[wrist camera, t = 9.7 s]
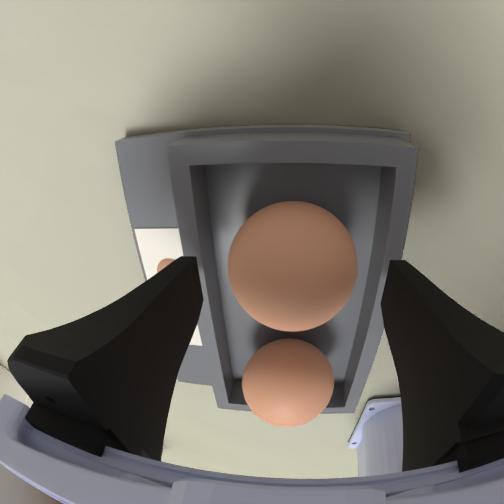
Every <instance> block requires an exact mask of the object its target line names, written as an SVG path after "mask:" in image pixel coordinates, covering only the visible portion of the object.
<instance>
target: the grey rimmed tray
mask: <svg viewBox="0 0 504 504" xmlns="http://www.w3.org/2000/svg"><path fill="white" fill-rule="evenodd" d="M410 139H411V134H409V133H407V132H405V131H401V130H391V129H381V128H369V127H355V126H336V125H300V124H278V125H242V126H223V127H209V128H197V129H186V130H176V131H167V132H159V133H151V134H144V135H137V136H130V137H125V138H122V139H120V140H117V141H115V145H116V151H117V157H118V163H119V169H120V174H121V179H122V185H123V190H124V195H125V200H126V204H127V209H128V214H129V218H130V222H131V227H132V231H133V235H134V239H135V243H136V247H137V251H138V255H139V259H140V263H141V267H142V270H143V274H144V278H145V281H147V280H148V279H150V278H151V277H152V276H154V275H155V274H156V273H158V272H159V271H160V270H162V269H163V268H165V267H166V266H167V265H169V264H170V263H171V262H173V261H174V260H176V259H177V258H179V257H180V256H196V258H197V264H198V270H199V276H200V282H201V287H202V293H203V298H204V300H203V305H202V309H201V313H200V317H199V321H198V324H197V326H196V329H195V331H194V334H193V336H192V339H191V341H190V344H189V346H188V349H187V351H186V354H185V356H184V359H183V361H182V364H181V366H180V369H179V372H178V375H177V378H178V381H179V382H186V383H194V384H202V385H211V386H212V387H213V390H214V394H215V398H216V402H217V405H218V408H222V409H232V410H243V411H252V410H251V409H250V408H249V406H248V405H247V403H246V400H245V398H244V394H243V390H242V377H243V373H244V369H245V367H246V365H247V363H248V361H249V360H250V358H251V357H252V355H253V354H254V353H255V352H256V351H257V350H258V349H260V348H261V347H263V346H264V345H266V344H268V343H270V342H273V341H276V340H279V339H287V338H291V339H299V340H303V341H306V342H308V343H310V344H312V345H314V346H315V347H317V348H318V349H319V350H320V351H322V353H323V354H324V355H325V356H326V357H327V359H328V361H329V362H330V364H331V367H332V370H333V375H334V389H333V393H332V396H331V399H330V401H329V403H328V405H327V406H326V408H325V409H324V410H323V411H322V412H321V413H320V414H332V413H354V412H355V409H356V407H357V404H358V402H359V399H360V397H361V394H362V392H363V389H364V386H365V384H366V381H367V378H368V375H369V372H370V370H371V367H372V364H373V361H374V358H375V355H376V352H377V349H378V346H379V343H380V339H381V336H382V333H383V329H384V323H383V317H382V311H381V304H380V303H381V299H382V295H383V290H384V286H385V282H386V277H387V272H388V267H389V262H390V260H401V259H402V255H403V250H404V245H405V240H406V234H407V229H408V223H409V217H410V211H411V205H412V198H413V191H414V183H415V175H416V166H417V156H418V147H416V146H414V145H412V144H411V143H410ZM283 201H303V202H308V203H311V204H314V205H317V206H319V207H321V208H324V209H326V210H327V211H329V212H330V213H332V214H333V215H334V216H335V217H336V218H337V219H338V220H339V221H340V222H341V223H342V224H343V225H344V226H345V228H346V229H347V231H348V232H349V234H350V236H351V238H352V240H353V243H354V245H355V249H356V253H357V260H358V271H357V279H356V283H355V286H354V289H353V292H352V294H351V296H350V298H349V299H348V301H347V303H346V304H345V306H344V307H343V308H342V309H341V310H340V311H339V312H338V313H337V314H336V315H335V316H334V317H333V318H331V319H330V320H329V321H327V322H325V323H324V324H322V325H319V326H317V327H315V328H312V329H308V330H304V331H282V330H277V329H273V328H270V327H268V326H266V325H264V324H262V323H260V322H258V321H257V320H255V319H254V318H252V317H251V316H250V315H249V314H248V313H247V312H246V311H245V310H244V309H243V308H242V307H241V305H240V304H239V302H238V301H237V299H236V297H235V295H234V293H233V291H232V288H231V285H230V282H229V277H228V256H229V251H230V247H231V244H232V242H233V239H234V237H235V235H236V233H237V232H238V230H239V229H240V227H241V226H242V225H243V224H244V223H245V221H246V220H247V219H248V218H249V217H251V216H252V215H253V214H254V213H256V212H257V211H259V210H260V209H262V208H264V207H266V206H269V205H272V204H275V203H278V202H283Z"/></svg>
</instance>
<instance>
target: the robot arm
mask: <svg viewBox="0 0 504 504" xmlns="http://www.w3.org/2000/svg"><path fill="white" fill-rule="evenodd" d="M203 300H204V298H203V293H202V287H201V282H200V276H199V270H198V264H197V258H196V256H180V257H179V258H177V259H176V260H174V261H173V262H171V263H170V264H169V265H167V266H166V267H165V268H163V269H162V270H160V271H159V272H158V273H156V274H155V275H154V276H152V277H151V278H150V279H148V280H147V281H145V282H144V283H143V284H141V285H140V286H138V287H137V288H135V289H134V290H132V291H131V292H129V293H128V294H126V295H125V296H123V297H122V298H120V299H118V300H117V301H115V302H113V303H111V304H109V305H108V306H106V307H104V308H102V309H100V310H98V311H96V312H94V313H91V314H89V315H87V316H85V317H83V318H81V319H78V320H76V321H73V322H70V323H68V324H65V325H62V326H59V327H56V328H53V329H50V330H46V331H42V332H38V333H34V334H30V335H26V336H25V337H24V338H23V340H22V341H21V342H20V344H19V345H18V346H17V348H16V349H15V350H14V352H13V353H12V354H11V356H10V357H9V359H8V360H7V361H8V367H9V370H10V372H11V374H12V375H13V377H14V378H15V380H16V381H17V382H18V384H19V385H20V386H21V387H22V389H23V390H24V391H25V392H26V394H27V395H28V396H29V397H30V398H31V400H32V401H33V402H34V403H33V404H32V406H31V408H29V407H28V406H27V405H25V404H24V403H22V402H20V401H18V400H17V399H15V398H13V397H11V396H9V395H7V394H4V395H3V397H2V399H1V400H0V463H1V464H2V465H3V466H5V467H6V468H7V469H8V470H10V471H11V472H13V473H14V474H15V475H17V476H18V477H20V478H21V479H23V480H24V481H26V482H28V483H29V484H31V485H32V486H34V487H36V488H37V489H39V490H41V491H43V492H44V493H46V494H47V495H49V496H51V497H53V498H54V499H56V500H58V501H60V502H62V503H64V504H504V332H502V331H500V330H498V329H496V328H495V327H493V326H491V325H489V324H488V323H486V322H484V321H483V320H481V319H479V318H478V317H476V316H475V315H473V314H472V313H470V312H469V311H467V310H466V309H465V308H463V307H462V306H460V305H459V304H458V303H457V302H455V301H454V300H453V299H451V298H450V297H449V296H448V295H446V294H445V293H444V292H443V291H442V290H440V289H439V288H438V287H437V286H436V285H434V284H433V283H432V282H431V281H430V280H429V279H427V278H426V277H425V276H424V275H423V274H422V273H420V272H419V271H418V270H417V269H416V268H415V267H413V266H412V265H411V264H409V263H408V262H407V261H405V260H390V262H389V267H388V272H387V277H386V282H385V286H384V290H383V295H382V299H381V303H380V304H381V311H382V317H383V323H384V328H385V332H386V335H387V339H388V342H389V346H390V349H391V353H392V356H393V360H394V364H395V367H396V371H397V376H398V381H399V387H400V396H401V397H395V398H383V399H372V400H370V401H368V402H367V404H366V407H365V409H364V411H363V413H362V415H361V418H360V420H359V422H358V424H357V426H356V428H355V430H354V432H353V435H352V437H351V439H350V441H349V443H348V448H349V449H354V448H357V458H358V477H351V478H333V479H285V478H266V477H253V476H243V475H234V474H226V473H218V472H212V471H205V470H199V469H194V468H189V467H183V466H179V465H174V464H169V463H165V462H161V455H162V447H163V440H164V434H165V428H166V423H167V417H168V413H169V408H170V403H171V399H172V395H173V391H174V387H175V383H176V379H177V375H178V372H179V369H180V366H181V364H182V361H183V359H184V356H185V354H186V351H187V349H188V346H189V344H190V341H191V339H192V336H193V334H194V331H195V329H196V326H197V324H198V321H199V317H200V313H201V309H202V305H203Z"/></svg>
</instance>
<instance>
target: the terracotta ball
mask: <svg viewBox="0 0 504 504" xmlns="http://www.w3.org/2000/svg"><path fill="white" fill-rule="evenodd" d="M357 271H358V260H357V253H356V249H355V245H354V243H353V240H352V238H351V236H350V234H349V232H348V231H347V229H346V228H345V226H344V225H343V224H342V223H341V222H340V221H339V220H338V219H337V218H336V217H335V216H334V215H333V214H332V213H330V212H329V211H327V210H326V209H324V208H321V207H319V206H317V205H314V204H311V203H308V202H303V201H283V202H278V203H275V204H272V205H269V206H266V207H264V208H262V209H260V210H259V211H257V212H256V213H254V214H253V215H252V216H251V217H249V218H248V219H247V220H246V221H245V223H244V224H243V225H242V226H241V227H240V229H239V230H238V232H237V233H236V235H235V237H234V239H233V242H232V244H231V247H230V251H229V256H228V277H229V282H230V285H231V288H232V291H233V293H234V295H235V297H236V299H237V301H238V302H239V304H240V305H241V307H242V308H243V309H244V310H245V311H246V312H247V313H248V314H249V315H250V316H251V317H252V318H254V319H255V320H257V321H258V322H260V323H262V324H264V325H266V326H268V327H270V328H273V329H277V330H282V331H304V330H308V329H312V328H315V327H317V326H319V325H322V324H324V323H325V322H327V321H329V320H330V319H331V318H333V317H334V316H335V315H336V314H337V313H338V312H339V311H340V310H341V309H342V308H343V307H344V306H345V304H346V303H347V301H348V299H349V298H350V296H351V294H352V292H353V289H354V286H355V283H356V279H357Z"/></svg>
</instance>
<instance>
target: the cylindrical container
mask: <svg viewBox="0 0 504 504" xmlns="http://www.w3.org/2000/svg"><path fill="white" fill-rule="evenodd" d="M4 394H7V395H9V396H11V397H13V398H15V399H17V400H18V401H20V402H22V403H24V404H25V403H26V402H27V400H28V398H29V396H28V395H27V394H26V392H25V391H24V390H23V389H22V387H21V386H20V385H19V384H18V382H17V381H16V380H15V378H14V377H13V375H12V374H11V372H10V371H9V370H7V369H6V368H4V367H3V366H1V365H0V400H1V399H2V397H3V395H4Z"/></svg>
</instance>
